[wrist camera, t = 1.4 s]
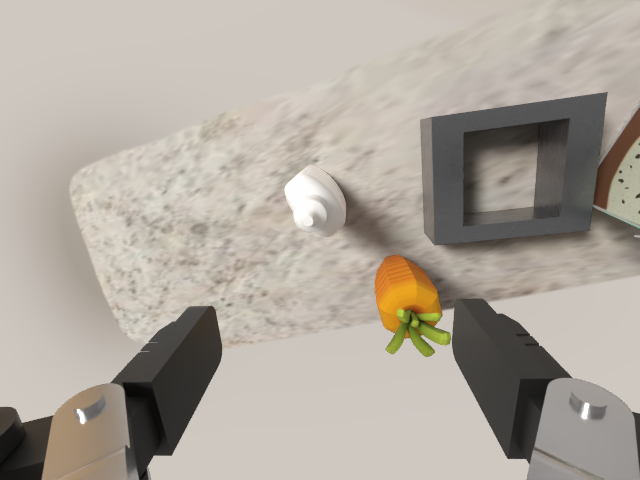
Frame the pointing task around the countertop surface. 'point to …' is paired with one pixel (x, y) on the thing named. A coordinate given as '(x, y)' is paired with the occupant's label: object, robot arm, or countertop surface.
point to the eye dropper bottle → (316, 202)
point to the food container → (621, 174)
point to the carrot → (408, 305)
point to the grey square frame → (551, 177)
